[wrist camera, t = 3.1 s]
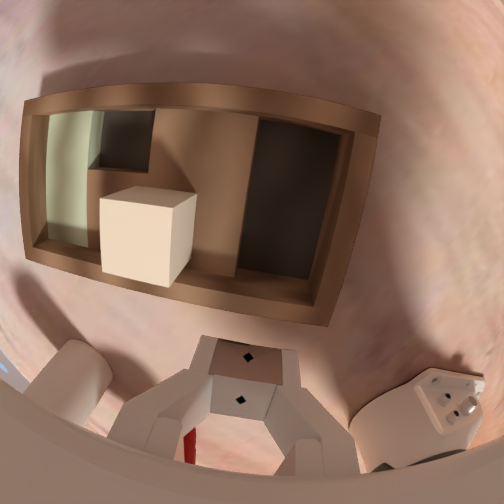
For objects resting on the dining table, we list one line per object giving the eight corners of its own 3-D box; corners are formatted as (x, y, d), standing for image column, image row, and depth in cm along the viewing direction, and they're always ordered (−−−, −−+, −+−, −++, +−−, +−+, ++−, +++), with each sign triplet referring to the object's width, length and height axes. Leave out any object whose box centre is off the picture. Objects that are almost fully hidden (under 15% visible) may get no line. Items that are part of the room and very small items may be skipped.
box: (360, 121, 18) (381, 115, 14) (320, 296, 24) (327, 326, 20) (55, 102, 19) (24, 100, 15) (52, 243, 25) (25, 258, 20)
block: (197, 193, 19) (172, 208, 15) (191, 257, 21) (169, 287, 17) (135, 185, 20) (99, 198, 15) (134, 246, 21) (102, 271, 17)
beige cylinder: (67, 367, 32) (27, 420, 21) (62, 329, 29) (10, 386, 18) (112, 392, 32) (78, 454, 21) (113, 357, 29) (66, 427, 18)
